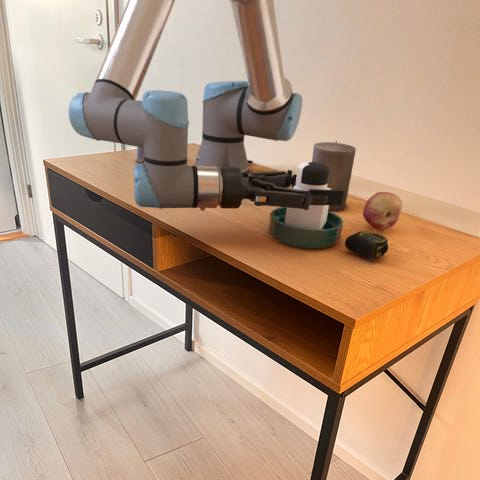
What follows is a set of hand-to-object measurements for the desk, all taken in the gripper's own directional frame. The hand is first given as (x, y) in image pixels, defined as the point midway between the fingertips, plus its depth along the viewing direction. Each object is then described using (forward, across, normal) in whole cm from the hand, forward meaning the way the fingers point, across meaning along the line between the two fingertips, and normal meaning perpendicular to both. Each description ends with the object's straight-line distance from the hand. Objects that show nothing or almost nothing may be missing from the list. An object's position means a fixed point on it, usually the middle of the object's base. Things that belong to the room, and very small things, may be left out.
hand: (332, 189), depth 96 cm
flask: (-34, -61, -10) cm, 70 cm away
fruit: (+14, -4, -10) cm, 18 cm away
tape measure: (+5, +10, -10) cm, 15 cm away
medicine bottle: (-4, 0, -7) cm, 9 cm away
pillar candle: (+8, -20, -10) cm, 24 cm away
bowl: (-4, 0, -10) cm, 11 cm away
